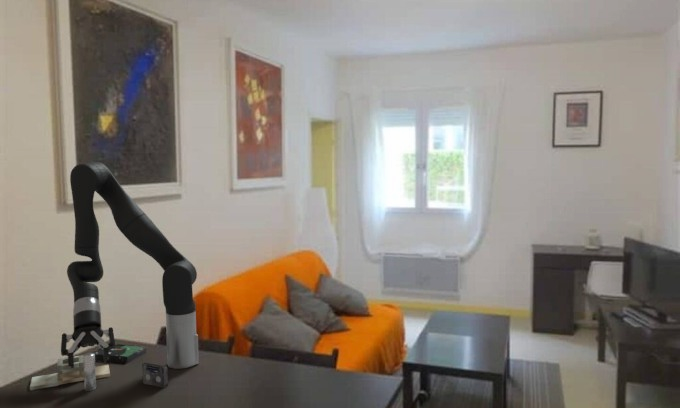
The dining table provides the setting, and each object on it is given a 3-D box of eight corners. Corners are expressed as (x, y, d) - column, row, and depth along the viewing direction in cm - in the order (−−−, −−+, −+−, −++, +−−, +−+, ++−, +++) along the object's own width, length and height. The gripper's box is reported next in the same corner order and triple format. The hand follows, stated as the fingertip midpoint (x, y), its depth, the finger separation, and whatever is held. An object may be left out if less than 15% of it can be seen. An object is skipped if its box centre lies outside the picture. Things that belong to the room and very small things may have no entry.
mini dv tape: (167, 386, 149) (167, 366, 149) (164, 388, 148) (163, 367, 147) (146, 381, 152) (146, 361, 152) (143, 383, 151) (142, 363, 151)
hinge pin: (96, 385, 150) (94, 352, 149) (96, 389, 147) (95, 355, 146) (84, 387, 148) (83, 354, 148) (84, 391, 146) (83, 357, 145)
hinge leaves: (108, 367, 164) (108, 350, 163) (110, 376, 156) (109, 358, 156) (32, 380, 154) (31, 362, 154) (30, 390, 147) (29, 371, 147)
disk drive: (89, 361, 171) (128, 364, 167) (88, 353, 171) (127, 356, 167) (109, 351, 181) (146, 353, 177) (109, 343, 181) (146, 345, 177)
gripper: (60, 312, 152) (60, 362, 142) (112, 306, 158) (116, 354, 149) (61, 324, 157) (61, 374, 147) (112, 318, 163) (115, 365, 154)
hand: (89, 364), depth 148 cm, fingers open, 8 cm apart
